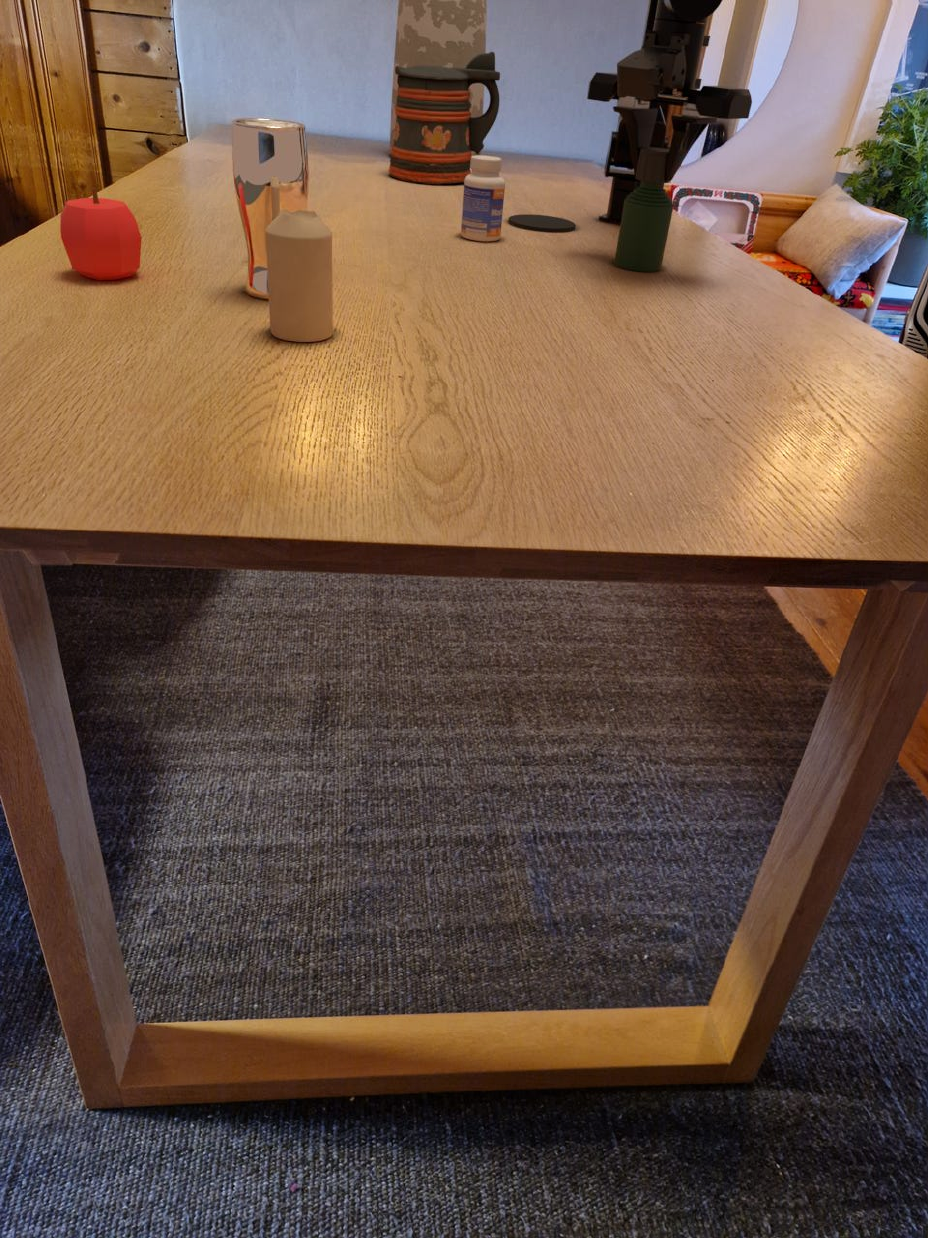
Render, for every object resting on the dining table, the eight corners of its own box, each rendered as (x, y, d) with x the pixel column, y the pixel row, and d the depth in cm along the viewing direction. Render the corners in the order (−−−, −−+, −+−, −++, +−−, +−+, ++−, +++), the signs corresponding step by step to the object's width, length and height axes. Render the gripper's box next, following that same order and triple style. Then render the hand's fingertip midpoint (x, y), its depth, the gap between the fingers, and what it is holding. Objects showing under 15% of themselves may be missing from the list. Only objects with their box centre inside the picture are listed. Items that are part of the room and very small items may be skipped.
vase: (479, 169, 170) (499, -78, 149) (385, 161, 170) (391, -89, 148) (479, 156, 187) (497, -68, 165) (393, 148, 186) (400, -78, 165)
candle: (305, 346, 74) (301, 221, 68) (257, 332, 76) (249, 209, 71) (345, 333, 78) (345, 213, 72) (298, 320, 80) (294, 202, 75)
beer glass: (252, 303, 83) (241, 126, 75) (233, 284, 88) (220, 116, 80) (321, 299, 86) (318, 128, 78) (298, 281, 91) (293, 118, 83)
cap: (632, 175, 106) (638, 145, 104) (665, 178, 106) (671, 148, 104) (638, 181, 103) (644, 150, 101) (672, 184, 103) (678, 153, 101)
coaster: (525, 214, 134) (526, 211, 134) (585, 225, 130) (585, 222, 130) (496, 223, 126) (497, 219, 126) (559, 235, 123) (559, 231, 123)
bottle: (623, 257, 114) (640, 155, 107) (666, 266, 112) (687, 162, 105) (607, 265, 109) (624, 159, 102) (652, 274, 107) (673, 166, 100)
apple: (125, 261, 92) (114, 179, 88) (163, 279, 88) (153, 193, 83) (50, 269, 88) (34, 182, 83) (86, 288, 83) (71, 197, 79)
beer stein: (478, 174, 165) (488, 49, 154) (503, 187, 154) (515, 54, 143) (381, 169, 160) (384, 40, 149) (399, 183, 149) (404, 44, 137)
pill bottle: (496, 244, 115) (504, 161, 109) (456, 238, 115) (462, 157, 110) (503, 236, 119) (510, 157, 113) (464, 231, 120) (470, 152, 114)
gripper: (570, 11, 95) (551, 169, 104) (722, 23, 86) (687, 196, 94) (624, 17, 102) (602, 164, 111) (771, 29, 93) (733, 189, 102)
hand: (652, 178), depth 104 cm, fingers closed on cap, 4 cm apart
